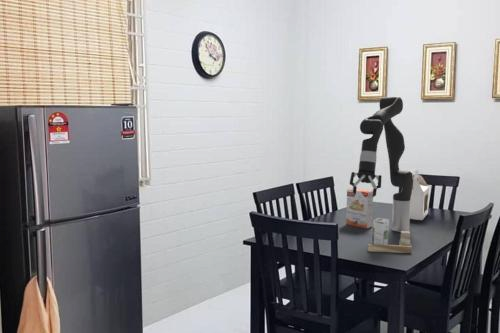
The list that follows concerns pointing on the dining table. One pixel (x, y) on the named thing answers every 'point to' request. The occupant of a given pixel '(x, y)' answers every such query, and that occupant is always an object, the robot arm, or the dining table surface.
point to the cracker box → (359, 208)
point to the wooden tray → (400, 248)
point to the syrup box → (380, 231)
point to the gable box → (419, 197)
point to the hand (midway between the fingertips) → (363, 195)
